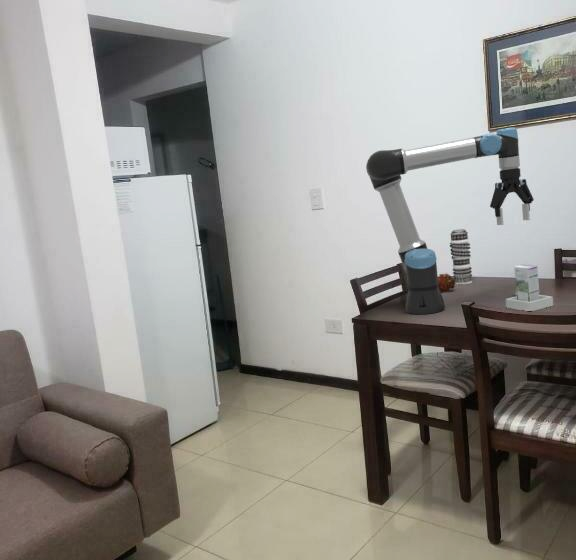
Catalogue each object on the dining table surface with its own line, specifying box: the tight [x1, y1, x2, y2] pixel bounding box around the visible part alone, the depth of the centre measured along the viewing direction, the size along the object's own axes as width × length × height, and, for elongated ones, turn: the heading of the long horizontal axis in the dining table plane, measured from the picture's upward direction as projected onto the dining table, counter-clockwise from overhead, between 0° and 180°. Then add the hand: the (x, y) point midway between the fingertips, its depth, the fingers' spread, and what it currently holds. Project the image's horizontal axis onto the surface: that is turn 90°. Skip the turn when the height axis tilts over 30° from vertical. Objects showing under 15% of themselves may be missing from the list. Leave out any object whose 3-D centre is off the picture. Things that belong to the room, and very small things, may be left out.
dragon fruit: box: [438, 273, 457, 293], centre depth 249 cm, size 8×8×12 cm
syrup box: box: [514, 263, 540, 302], centre depth 201 cm, size 6×6×14 cm
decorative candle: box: [449, 228, 473, 285], centre depth 260 cm, size 9×9×25 cm
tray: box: [505, 294, 554, 312], centre depth 202 cm, size 11×11×3 cm
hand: (513, 222), depth 221 cm, fingers open, 13 cm apart
